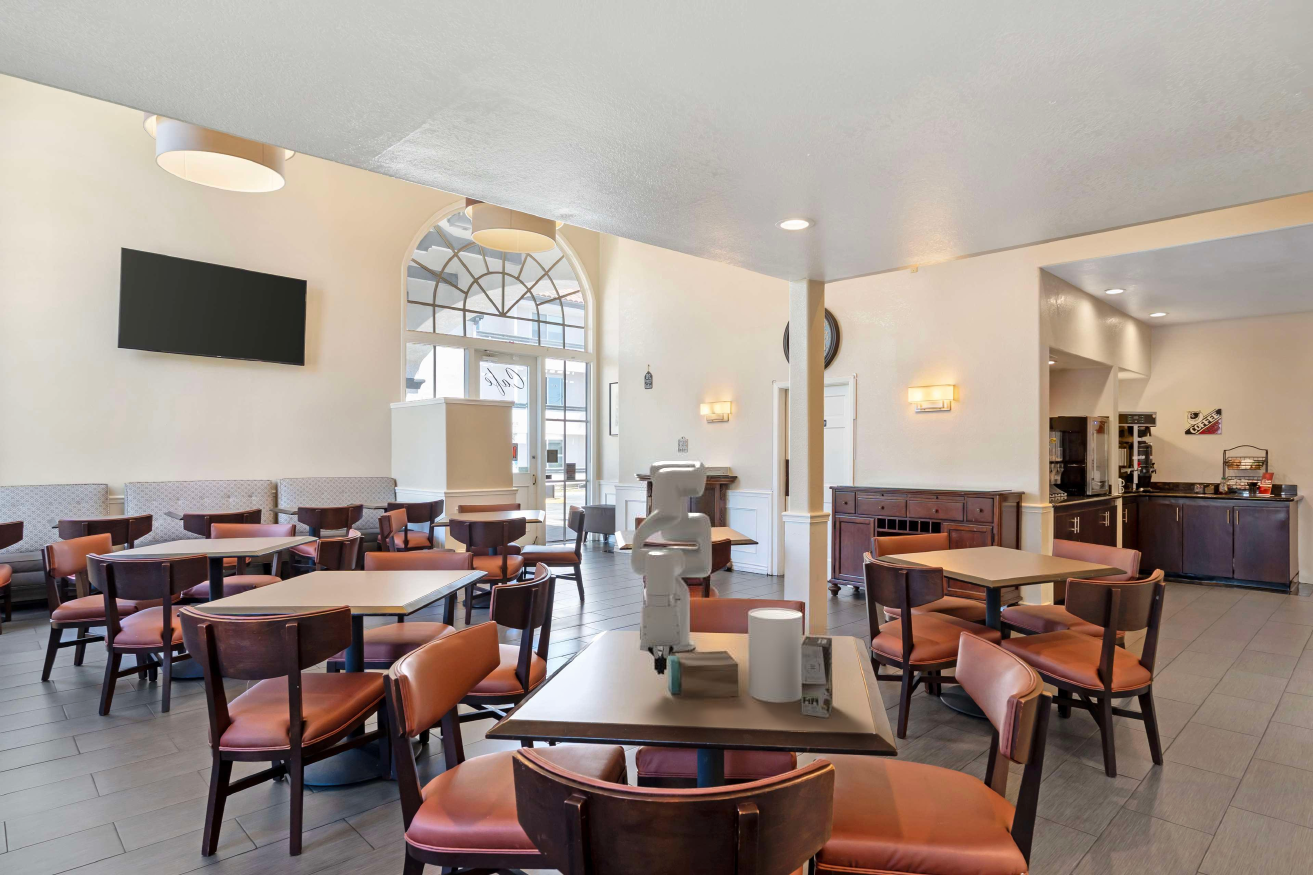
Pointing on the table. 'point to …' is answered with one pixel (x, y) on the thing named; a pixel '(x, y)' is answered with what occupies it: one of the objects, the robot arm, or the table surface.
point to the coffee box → (816, 676)
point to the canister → (775, 654)
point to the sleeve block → (707, 674)
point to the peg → (673, 674)
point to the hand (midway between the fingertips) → (660, 672)
